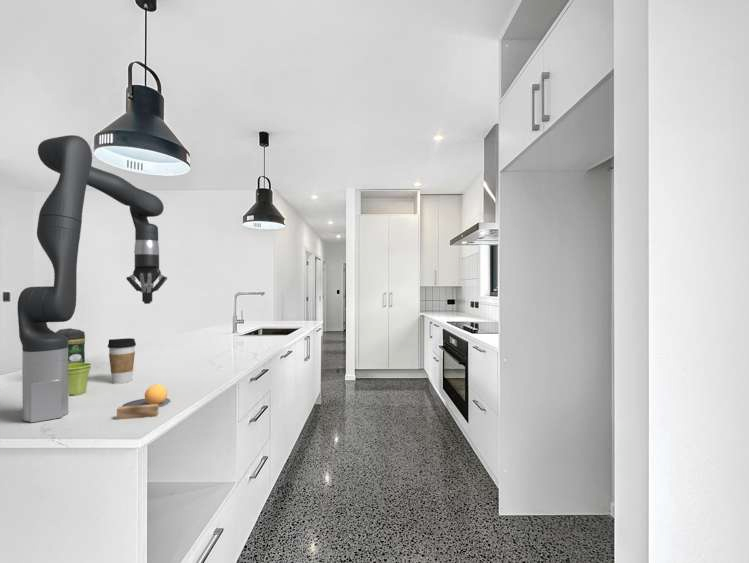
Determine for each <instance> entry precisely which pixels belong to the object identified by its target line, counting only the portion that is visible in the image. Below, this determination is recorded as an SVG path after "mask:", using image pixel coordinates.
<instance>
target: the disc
mask: <svg viewBox="0 0 749 563" xmlns="http://www.w3.org/2000/svg"><path fill="white" fill-rule="evenodd" d="M169 402H170V403H171V399H170V398H168V397H167V398H166V399H165V401H164V402H163V403H161V404H159V408H161V407H164V405H165V406H166V404H167V405H169V404H170V403H169ZM168 403H169V404H168ZM136 405H150V404H149V403H147V401H146V400H145V398H141V399H135V400H130V401H128V402H125V403H123V405H121V407H123V406H136Z"/></svg>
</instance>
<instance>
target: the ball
mask: <svg viewBox="0 0 749 563" xmlns="http://www.w3.org/2000/svg"><path fill="white" fill-rule="evenodd" d="M167 396H168V389H167V388H166V386H164V385H162V384H153V385H150V386H149V387H148V388H147V389H146V391H145V393H144V399H145V400H146V401H147V403H149V404H161V403H163V402H164V401H165V399H166V398H168V397H167Z"/></svg>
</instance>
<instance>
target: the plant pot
mask: <svg viewBox="0 0 749 563" xmlns="http://www.w3.org/2000/svg"><path fill="white" fill-rule="evenodd" d="M92 365H93V363H91V362H85V363H74V364H68V395H69V396H71V395H73V396H77V395H76V394H79V395H82V394H85V393H86V392H87V387H88V380H89V375H90V371H91V366H92ZM84 392H85V393H84ZM81 393H82V394H81Z"/></svg>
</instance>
